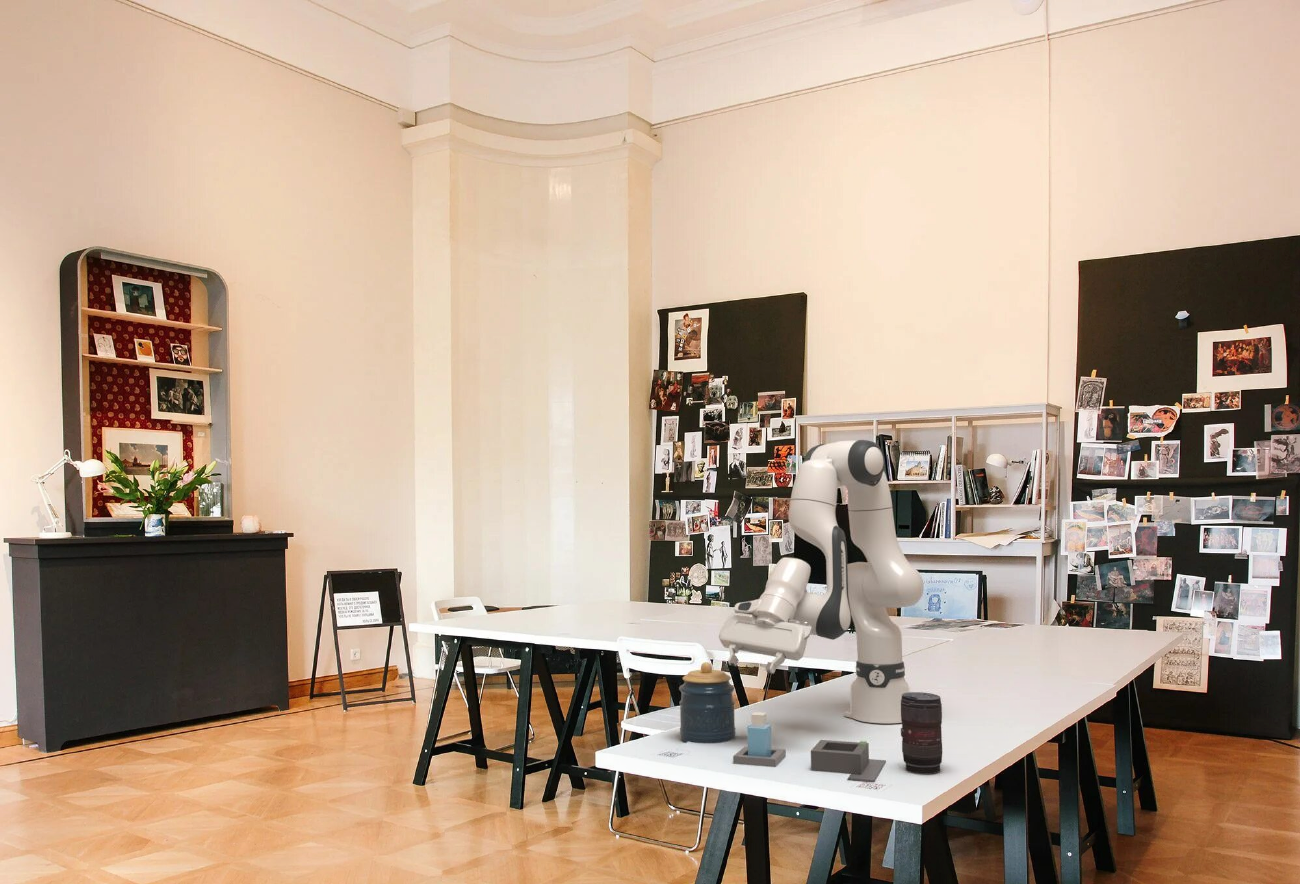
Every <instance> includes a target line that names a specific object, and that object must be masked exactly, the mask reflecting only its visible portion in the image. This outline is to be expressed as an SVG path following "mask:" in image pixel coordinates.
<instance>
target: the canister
mask: <svg viewBox="0 0 1300 884" xmlns="http://www.w3.org/2000/svg"><path fill="white" fill-rule="evenodd" d="M731 679H732V677H731V676H730V675H728V674H727V673H726V672H725V671H723V670H718V669H713V666H712V664H711V663H710V662H702V664H701V665H700V669H697V670H695V669H694V670H691V671H689V672H688V673H686V674H685V675H684V676H683V677H682V680H683V681H684V683H683V684H682V685H680V686H679V687H678V690H679V691H680V692H681V699H680V701H679V707H680V709H679V710H680V712H679V714H680V715H679V716H680V719H679V720H680V727H679V731H680V732H679V734H680V739H681V740H682V741H683V742H685V743H689V742H690V743H695V744H720V743H726V742H729V741H732V740H734V739H735V737H736V725H735V723H736V721H735V703H736V701H735V700H734V697H733V692H734V691H735V686H734V685H732V684H731V683H730V680H731Z"/></svg>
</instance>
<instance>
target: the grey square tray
mask: <svg viewBox="0 0 1300 884" xmlns="http://www.w3.org/2000/svg"><path fill="white" fill-rule="evenodd" d="M786 753H787V752H786V749H785V748H773V747H771V757H761V756H748V745H746V746H743V747H742V748H741V749H740V750H739V751H738V752H736V753H735V754H734V755H732V764H734V765H742V766H744V765H745V766H754V767H755V766H756V767H758V766H759V767H769V768H770V767H771V768H777V766H779V764H781V762H782V761H783V760H784V759H785V758H786V757H787V755H786Z"/></svg>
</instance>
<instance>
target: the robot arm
mask: <svg viewBox="0 0 1300 884" xmlns="http://www.w3.org/2000/svg"><path fill="white" fill-rule="evenodd" d="M885 462H886V461H885V455H884V452H883V450H882V449H881V447H880V445H879V444H877V443H876V442H874V441H871V440H868V439H867V440H866V439H858V440H854V439H853V440H851V439H850V440H839V441H835V442H829V443H822V444H821V443H820V444H818V445H814V446H812V447H810V448H809V450H808V451H807V453H805V456H804V458H803V462H802V463H801V465H800V466H799V468H798V470H797V474H796V476H795V479H794V483H793V487H792V491H791V495H790V501H789V505H788V523H789V525H790V528H791V529H792V530H793V532H794V533H795V534H796V536H798V537H799V538H801V539H803V540H804V541H806V542H807V543H810V544H812V545H813V546H815V547H817V548H818V549H819V550H821V552H822V553H823V555H824V556H825V561H826V562H825V565H826V566H825V567H826V569H825V571H826V591H825V593H815V592H814V593H813V592H808V590H807V586H808V583H809V580H810V576H811V571H812V570H811V569H812V568H811V566H810V564H809V563H808V562H807V561H805V560H803V559H801V558H798V557H789V556H788V557H787V556H785V557H782V558H780V560H779V561H778V562H777V563H776V564H775V566H774V567H773V569H772V571H771V573H770V575H769V577H768V579H767V581H766V585H765V589H764V592H762V594H761V595H760V597H759V598H758V599H754V600H748V601H743V602H737V603H736V604H735V605H734V606H733V607H734V608H733V611H734V612H733V613H731V614H730V615H729V616H728V617H727V619H726V620H725V621H724V623H723V625H722V628H721V630H720V632H719V634H718V638H719V642H720V643H721V645H722V646H723V647H724V648H726V649H729V658H728V660H727V663H728V665H729V666H733V667H737V665H738V664H739V659H738V656H737V655H736V654H738V653H739V651H742V652H748V653H752V654H758V655H763V656H770V657H774V659H773V660H772V661H767V663H766V665H765V671H766V673H770V674H775V672H776V669H777V668H779V666H781V665H782V664H784V663H785V660H791V661H796V662H797V661H800V660H801V659H802V658H803V657H804V654H805V650H806V648H807V643H808V639H809V638H810V636H811V635H813V636H818V637H821V638H825V639H829V640H836V639H838V638H840V637H842V636H843V635H844V634H846V632H847V631H849V629H850V626H851V622H852V621H853V626H854V629H855V634H856V646H857V647H856V649H857V650H856V651H857V652H856V653H857V660H856V661H855V672H856V673H855V674H856V678H855V679H854V680H853V681H852V682H851V683H850V708H849V709H847V710H845V711H844V712H843V716H844V717H846V718H851V719H854V720H856V721H859V722H864V723H871V724H872V723H873V724H900V723H901V724H902V721H901V699H902V694H903V693H908V692H911V686H910V685H909V683H908V682H907V681H906V679H905V676H906V674H905V672H906V667H905V662H904V661H903V638H902V637H903V635H902V631H901V629H900V628H899V626H897V624H895V623H894V622H893V620H891V617H890V616H889V614H888V611H887V608H894V609H901V608H906V607H907V608H908V607H911V606H915V605H916V604H917V603H919V602H920V600H921V598H922V597H923V593H924V580H923V578H922V574H920V572H919V571H918V570H917V569H916V568H915V567H914V566H913V565H912V564H911V563H910V562H909V561H908V559H907V558H906V556H905V555H904V552H903V551H902V548H901V547H900V544H899V541H898V536H897V534H896V526H895V519H894V510H893V502H892V495H891V490H890V485H889V482H888V478H887V475H886V473H885V466H886V464H885ZM840 486H842V487H844V486H845V488H846V490H847V509H848V511H847V512H848V520H849V521H848V522H849V531H850V539H851V541H852V543H853V544H854V545H855V546H856V547H857V548H859V549H860V551H861V552H862V553H863V555H864V557H865V558H866V561H867V562H864V561H856V562H851V563H848V548H847V541H846V539H847V538H846V534H845V531H844V530H843V528H841V527H840V526H839V525H838V521H837V517H836V508H837V501H838V489H839V487H840Z"/></svg>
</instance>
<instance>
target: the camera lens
mask: <svg viewBox="0 0 1300 884" xmlns="http://www.w3.org/2000/svg"><path fill="white" fill-rule="evenodd" d="M941 699H942V698H941V696H940V695H938V694H935V693H931V692H923V691H922V692H921V691H920V692H919V691H918V692H917V691H916V692H915V691H910V692H908V693H903V694H902V699H901V721H902V723H901V728H900V736H901V738H902V739H901V749H902V750H901V752H902V757H903V759H902V760H903V762H904V763H905V769H906V771H907V772H910V773H913V774H921V775H932V774H937V773H939V772H940V771H941V764H942V761H943V739H942V738H943V737H942V723H943V706H942V705H943V704H942V700H941Z"/></svg>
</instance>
